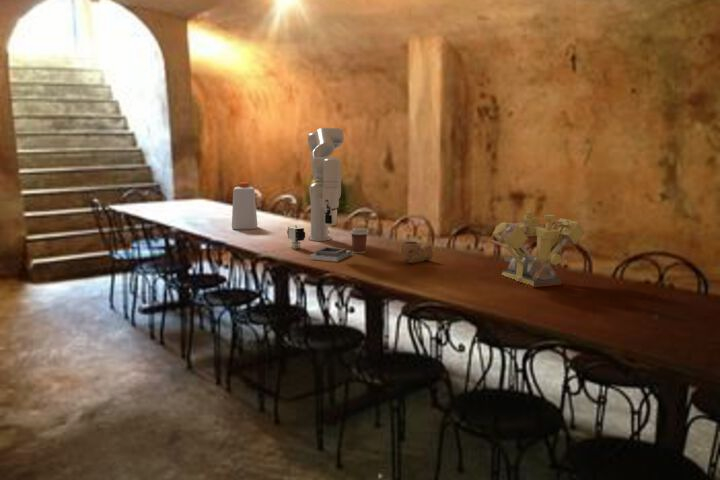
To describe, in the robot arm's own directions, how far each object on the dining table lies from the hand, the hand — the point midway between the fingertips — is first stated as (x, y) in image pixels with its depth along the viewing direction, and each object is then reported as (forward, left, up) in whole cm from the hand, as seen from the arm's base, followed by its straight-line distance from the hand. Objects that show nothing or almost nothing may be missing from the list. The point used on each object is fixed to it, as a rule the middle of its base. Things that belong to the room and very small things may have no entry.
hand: (331, 222), depth 294 cm
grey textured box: (-6, +41, -17) cm, 45 cm away
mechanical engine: (+10, +95, -17) cm, 97 cm away
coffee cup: (-17, +8, -17) cm, 26 cm away
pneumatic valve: (-13, -25, -17) cm, 33 cm away
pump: (0, 0, -1) cm, 1 cm away
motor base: (0, 0, -17) cm, 17 cm away
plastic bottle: (-57, -83, -17) cm, 102 cm away
